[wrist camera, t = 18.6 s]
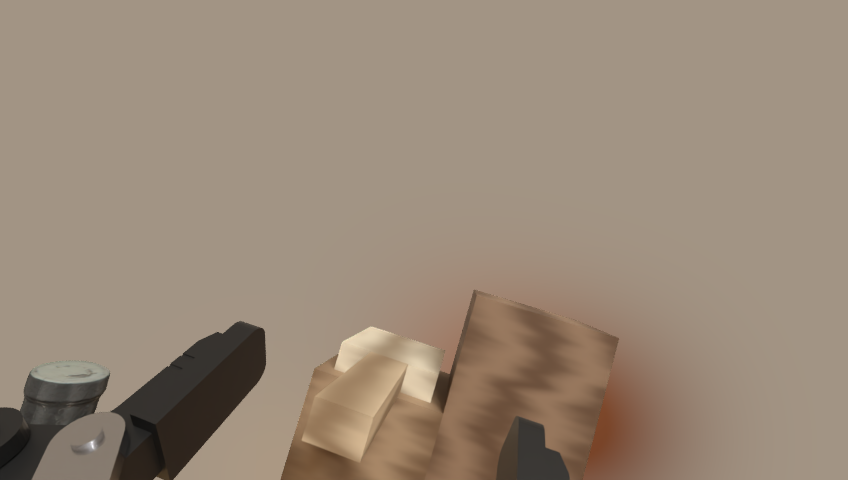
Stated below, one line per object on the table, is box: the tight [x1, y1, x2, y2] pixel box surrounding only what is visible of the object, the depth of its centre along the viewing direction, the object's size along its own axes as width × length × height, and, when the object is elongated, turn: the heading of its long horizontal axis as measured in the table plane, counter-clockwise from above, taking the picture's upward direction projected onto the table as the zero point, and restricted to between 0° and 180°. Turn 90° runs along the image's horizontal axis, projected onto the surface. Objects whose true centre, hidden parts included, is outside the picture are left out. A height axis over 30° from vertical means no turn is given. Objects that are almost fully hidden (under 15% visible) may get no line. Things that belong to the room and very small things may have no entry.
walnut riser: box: [281, 290, 619, 480], centre depth 35 cm, size 23×12×32 cm, turn 83°
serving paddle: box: [302, 326, 445, 463], centre depth 31 cm, size 9×22×2 cm, turn 173°
